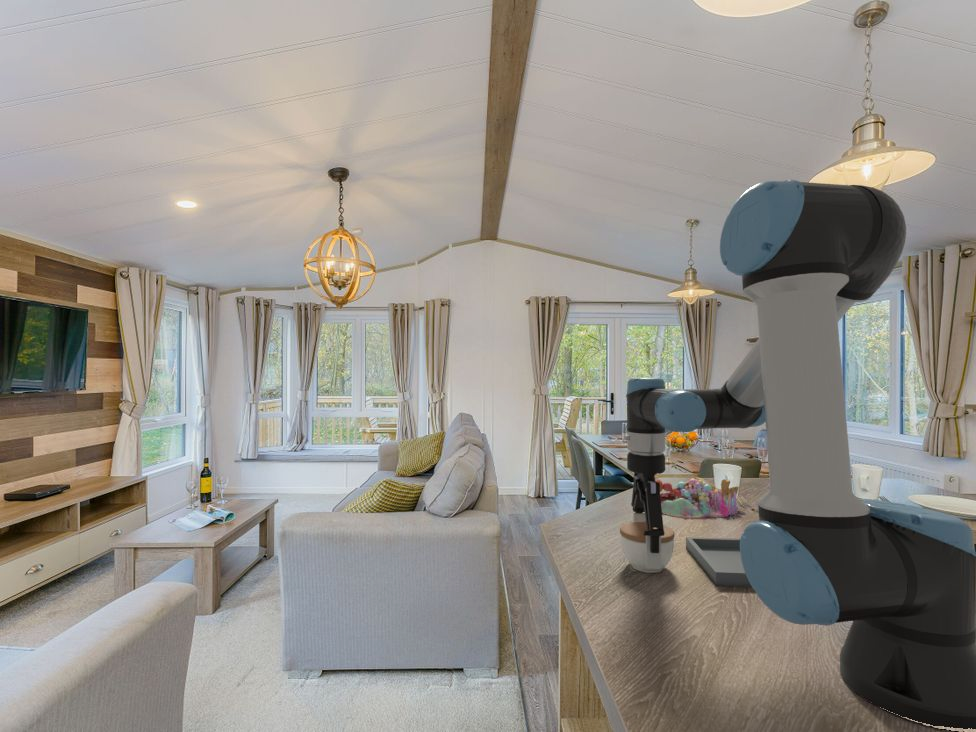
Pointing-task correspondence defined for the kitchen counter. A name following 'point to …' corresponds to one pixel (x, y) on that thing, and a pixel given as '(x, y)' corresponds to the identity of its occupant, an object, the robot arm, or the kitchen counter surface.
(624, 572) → the kitchen counter surface
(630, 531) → the lidded jar
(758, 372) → the robot arm
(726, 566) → the tray
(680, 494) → the candy landscape model
